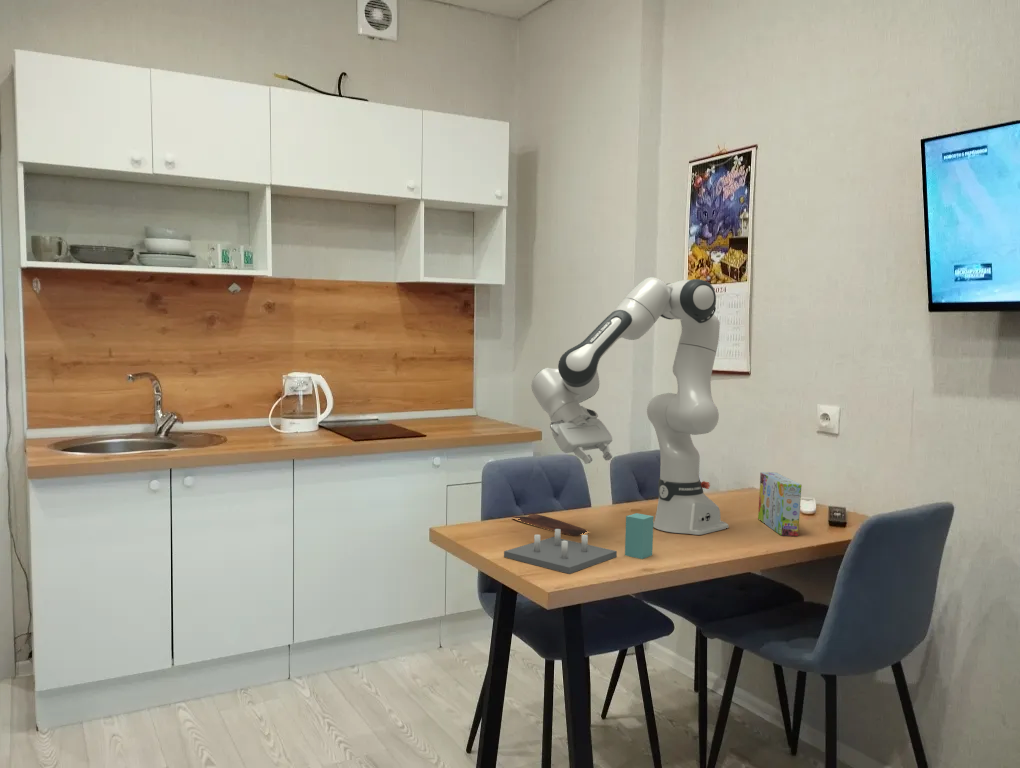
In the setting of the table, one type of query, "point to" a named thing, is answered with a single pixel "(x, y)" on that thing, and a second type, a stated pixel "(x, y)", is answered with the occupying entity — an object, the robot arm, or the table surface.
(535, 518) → the wooden tablet
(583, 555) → the peg board
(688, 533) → the robot arm
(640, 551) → the teal post
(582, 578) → the table surface
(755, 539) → the table surface
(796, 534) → the snack box
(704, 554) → the table surface
